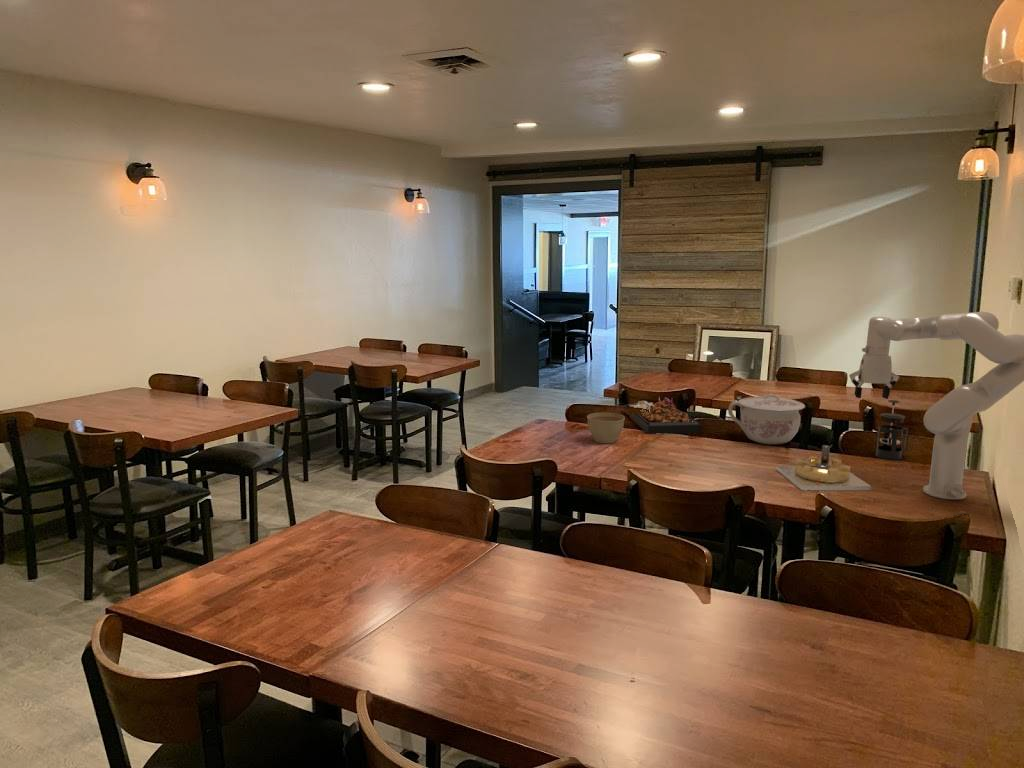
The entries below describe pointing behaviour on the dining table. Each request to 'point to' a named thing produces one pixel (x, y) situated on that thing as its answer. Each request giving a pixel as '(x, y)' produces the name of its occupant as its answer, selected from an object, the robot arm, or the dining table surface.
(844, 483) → the base plate
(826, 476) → the gold disc with post
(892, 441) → the french press
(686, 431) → the food platter
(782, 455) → the dining table surface
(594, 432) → the planter bowl
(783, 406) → the chamber pot
